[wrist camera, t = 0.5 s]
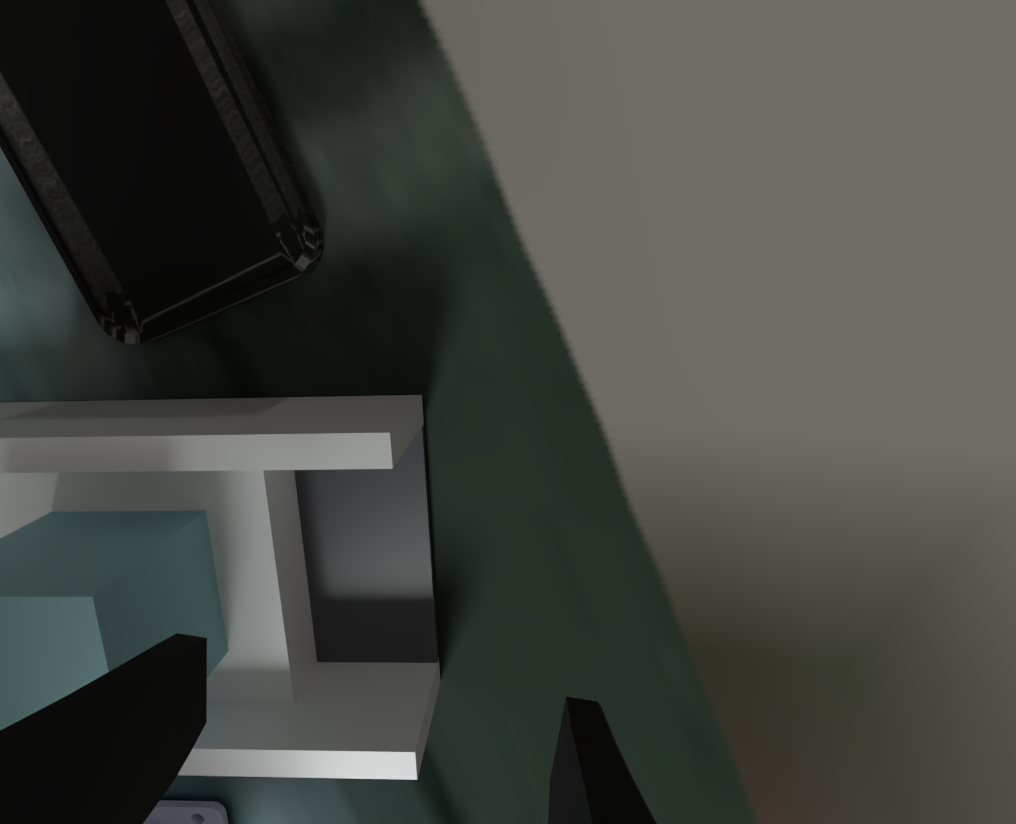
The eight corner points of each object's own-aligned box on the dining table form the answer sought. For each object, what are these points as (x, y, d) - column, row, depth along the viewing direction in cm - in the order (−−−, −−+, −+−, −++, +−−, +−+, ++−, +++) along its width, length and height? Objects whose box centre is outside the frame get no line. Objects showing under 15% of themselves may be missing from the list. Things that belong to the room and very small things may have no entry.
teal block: (82, 650, 21) (-58, 771, 16) (51, 511, 19) (-111, 596, 15) (228, 651, 20) (131, 774, 16) (205, 510, 19) (92, 596, 14)
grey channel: (-101, 676, 24) (-240, 768, 20) (-185, 405, 22) (-367, 443, 17) (440, 680, 23) (417, 779, 19) (421, 394, 20) (389, 432, 16)
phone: (115, 355, 20) (-167, -153, 17) (137, 350, 21) (-124, -128, 18) (331, 260, 19) (73, -303, 16) (342, 260, 20) (103, -266, 17)
